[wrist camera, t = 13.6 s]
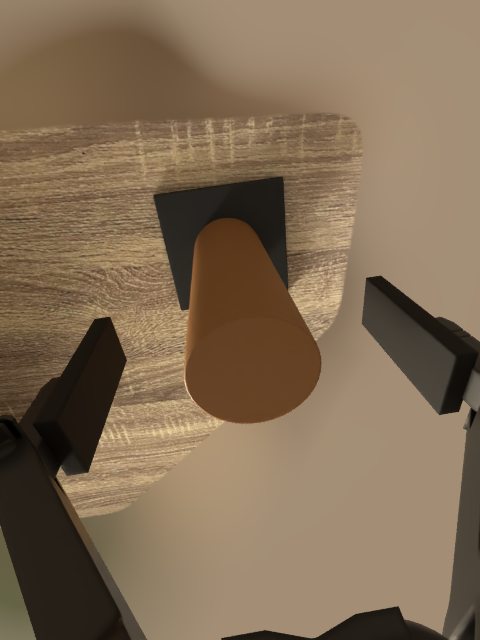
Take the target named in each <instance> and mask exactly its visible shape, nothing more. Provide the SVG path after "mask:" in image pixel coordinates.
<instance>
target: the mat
mask: <svg viewBox="0 0 480 640" xmlns="http://www.w3.org/2000/svg"><path fill="white" fill-rule="evenodd" d="M153 197H154V201H155V205H156V209H157V213H158V218H159V222H160V226H161V230H162V234H163V238H164V242H165V246H166V250H167V254H168V258H169V262H170V267H171V271H172V275H173V279H174V283H175V287H176V291H177V295H178V299H179V303H180V307H181V310H188V309H189V305H190V293H191V281H192V269H193V258H194V247H195V242H196V239H197V237H198V235H199V233H200V232H201V230H202V229H203V228H204V227H205V226H206V225H208V224H209V223H211V222H213V221H215V220H217V219H221V218H235V219H238V220H241V221H243V222H245V223H247V224H248V225H249V226H250V227H252V229H253V230H254V231H255V232H256V234H257V236H258V237H259V239H260V241H261V243H262V245H263V247H264V248H265V250H266V252H267V254H268V256H269V258H270V259H271V261H272V263H273V265H274V267H275V269H276V270H277V272H278V274H279V276H280V278H281V279H282V281H283V283H284V285H285V287H286V289H287V290H288V275H287V252H286V229H285V206H284V183H283V177H276V178H269V179H262V180H255V181H248V182H241V183H234V184H227V185H220V186H213V187H206V188H199V189H192V190H184V191H177V192H170V193H163V194H156V195H154V196H153Z"/></svg>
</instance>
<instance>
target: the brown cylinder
mask: <svg viewBox="0 0 480 640" xmlns="http://www.w3.org/2000/svg"><path fill="white" fill-rule="evenodd" d="M320 372H321V355H320V351H319V348H318V346H317V343H316V342H315V340H314V338H313V336H312V334H311V332H310V331H309V329H308V327H307V325H306V323H305V321H304V320H303V318H302V316H301V314H300V312H299V311H298V309H297V307H296V305H295V303H294V301H293V300H292V298H291V296H290V294H289V292H288V290H287V289H286V287H285V285H284V283H283V281H282V279H281V278H280V276H279V274H278V272H277V270H276V269H275V267H274V265H273V263H272V261H271V259H270V258H269V256H268V254H267V252H266V250H265V248H264V247H263V245H262V243H261V241H260V239H259V237H258V236H257V234H256V232H255V231H254V230H253V229H252V227H250V226H249V225H248V224H247V223H245V222H243V221H241V220H238V219H235V218H221V219H217V220H215V221H213V222H211V223H209V224H208V225H206V226H205V227H204V228H203V229H202V230H201V232H200V233H199V235H198V237H197V239H196V242H195V247H194V258H193V269H192V281H191V293H190V305H189V316H188V328H187V340H186V352H185V363H184V382H185V386H186V389H187V392H188V393H189V395H190V397H191V399H192V400H193V401H194V403H195V404H196V405H197V406H198V407H199V408H200V409H201V410H203V411H204V412H206V413H207V414H209V415H211V416H213V417H215V418H217V419H220V420H223V421H227V422H232V423H240V424H250V423H251V424H252V423H260V422H265V421H269V420H272V419H275V418H278V417H280V416H283V415H285V414H287V413H289V412H290V411H292V410H293V409H295V408H296V407H297V406H299V405H300V404H301V403H303V401H304V400H306V399H307V398H308V396H309V395H310V394H311V392H312V391H313V389H314V388H315V386H316V384H317V382H318V379H319V376H320Z"/></svg>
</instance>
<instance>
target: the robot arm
mask: <svg viewBox="0 0 480 640" xmlns="http://www.w3.org/2000/svg"><path fill="white" fill-rule="evenodd" d="M362 324H363V326H364V327H365V328H366V329H367V330H368V332H369V333H370V334H371V335H372V336H373V337H374V339H375V340H376V341H377V342H378V343H379V345H380V346H381V347H382V348H383V349H384V350H385V352H386V353H387V354H388V355H389V356H390V358H392V360H393V361H394V362H395V363H396V364H397V366H398V367H399V368H400V369H401V370H402V372H403V373H404V374H405V375H406V376H407V378H408V379H409V380H410V381H411V382H412V384H413V385H414V386H415V387H416V388H417V389H418V391H419V392H420V393H421V394H422V395H423V397H424V398H425V399H426V400H427V401H428V402H429V404H430V405H431V406H432V407H433V408H434V409H435V411H436V412H437V413H438V414H439V415H442V414H448V413H454V412H459V410H460V407H461V404H462V401H463V400H464V401H465V402H466V403H467V404H468V405H469V406H470V407H471V409H470V411H469V414H468V417H467V419H466V422H465V425H464V429H466V430H467V433H466V443H465V453H464V463H463V473H462V483H461V493H460V503H459V513H458V523H457V533H456V543H455V553H454V563H453V573H452V583H451V593H450V601H449V606H448V610H447V614H446V618H445V622H444V627H443V634H442V635H441V634H439V633H438V632H436V631H434V630H432V629H430V628H428V627H425V626H423V625H421V624H418V623H415V622H412V621H409V620H404V619H403V616H402V614H401V611H400V609H399V607H392V608H387V609H381V610H375V611H370V612H364V613H359V614H355V615H353V616H352V617H350V618H349V619H347V620H345V621H343V622H342V623H340V624H338V625H337V626H335V627H334V628H332V629H330V630H329V631H327V632H325V633H324V634H322V635H320V636H319V637H317V638H305V637H300V636H294V635H289V634H283V633H277V632H272V631H266V630H264V631H259V632H253V633H247V634H242V635H236V636H231V637H225V638H221V640H480V342H479V341H478V340H476V339H475V338H474V337H473V336H471V335H470V334H469V333H467V332H466V331H463V329H462V328H461V327H459V326H458V325H457V324H455V323H454V322H452V321H449V320H447V319H445V318H442V317H438V318H434V317H433V316H432V315H430V314H429V313H428V312H427V311H425V310H424V309H423V308H422V307H420V306H419V305H418V304H416V303H415V302H414V301H412V300H411V299H410V298H409V297H407V296H406V295H405V294H404V293H402V292H401V291H400V290H399V289H397V288H396V287H395V286H393V285H392V284H391V283H390V282H388V281H387V280H386V279H384V278H383V277H382V276H376V277H369V278H366V287H365V296H364V307H363V317H362ZM126 361H127V359H126V357H125V354H124V352H123V349H122V346H121V344H120V341H119V339H118V336H117V333H116V331H115V328H114V326H113V323H112V320H111V318H110V317H105V318H98V319H94V321H93V323H92V324H91V326H90V328H89V330H88V331H87V333H86V335H85V336H84V338H83V340H82V341H81V343H80V345H79V346H78V348H77V350H76V351H75V353H74V355H73V356H72V358H71V360H70V361H69V363H68V365H67V366H66V368H65V370H64V371H63V373H62V375H61V376H60V377H57V378H52V379H51V380H50V381H49V382H47V383H46V384H45V385H44V386H43V387H42V388H41V389H40V391H39V393H38V394H37V396H36V399H34V400H33V402H32V403H31V407H29V408H28V410H27V411H26V413H25V414H24V416H23V417H22V419H21V420H20V422H19V423H18V422H17V421H16V419H15V418H14V417H13V416H11V415H2V416H0V525H1V529H2V532H3V535H4V538H5V541H6V544H7V548H8V551H9V554H10V557H11V560H12V563H13V567H14V570H15V573H16V576H17V579H18V582H19V586H20V589H21V592H22V595H23V598H24V602H25V605H26V608H27V610H28V614H29V617H30V621H31V624H32V627H33V630H34V633H35V637H36V640H147V639H146V637H145V635H144V633H143V632H142V630H141V628H140V626H139V624H138V623H137V621H136V619H135V617H134V615H133V614H132V612H131V610H130V608H129V606H128V605H127V603H126V601H125V600H124V597H123V596H122V594H121V592H120V590H119V588H118V587H117V585H116V583H115V581H114V580H113V578H112V576H111V574H110V572H109V571H108V569H107V567H106V565H105V563H104V561H103V560H102V558H101V556H100V554H99V552H98V551H97V549H96V547H95V545H94V543H93V542H92V540H91V538H90V536H89V534H88V533H87V531H86V529H85V527H84V525H83V524H82V522H81V520H80V518H79V516H78V515H77V513H76V511H75V509H74V507H73V506H72V504H71V502H70V500H69V498H68V496H67V495H66V493H65V491H64V489H63V487H62V486H61V484H60V482H59V481H58V479H57V478H56V475H57V473H58V470H59V468H60V466H61V468H62V469H63V471H64V472H65V474H66V475H67V476H70V475H76V474H82V473H88V472H89V469H90V466H91V463H92V460H93V457H94V454H95V451H96V448H97V445H98V442H99V440H100V437H101V434H102V431H103V428H104V425H105V422H106V419H107V416H108V413H109V410H110V408H111V405H112V402H113V399H114V396H115V393H116V390H117V387H118V384H119V381H120V378H121V376H122V373H123V370H124V367H125V364H126Z"/></svg>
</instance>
